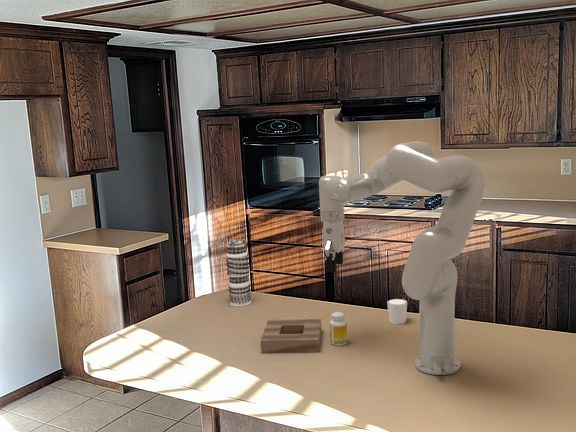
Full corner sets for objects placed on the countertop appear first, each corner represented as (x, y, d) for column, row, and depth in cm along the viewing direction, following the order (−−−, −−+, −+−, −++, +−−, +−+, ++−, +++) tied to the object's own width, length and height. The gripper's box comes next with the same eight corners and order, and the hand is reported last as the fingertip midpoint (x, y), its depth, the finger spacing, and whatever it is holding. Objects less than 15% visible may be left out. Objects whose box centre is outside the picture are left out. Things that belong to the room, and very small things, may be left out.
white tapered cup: (409, 324, 201) (409, 304, 199) (389, 325, 201) (388, 305, 200) (405, 317, 207) (405, 298, 206) (386, 318, 208) (385, 299, 206)
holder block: (319, 352, 182) (318, 339, 182) (261, 352, 184) (260, 340, 183) (321, 330, 200) (320, 318, 199) (268, 331, 202) (267, 320, 201)
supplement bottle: (327, 342, 189) (325, 314, 187) (339, 338, 192) (337, 309, 190) (338, 347, 185) (337, 318, 183) (351, 342, 188) (349, 313, 186)
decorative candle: (256, 303, 232) (252, 240, 227) (235, 308, 227) (230, 244, 223) (246, 297, 240) (241, 237, 235) (225, 302, 235) (220, 240, 231)
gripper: (337, 220, 177) (339, 275, 180) (349, 210, 193) (351, 261, 196) (313, 220, 180) (316, 275, 183) (327, 210, 196) (329, 260, 199)
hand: (334, 267), depth 190 cm, fingers open, 9 cm apart
